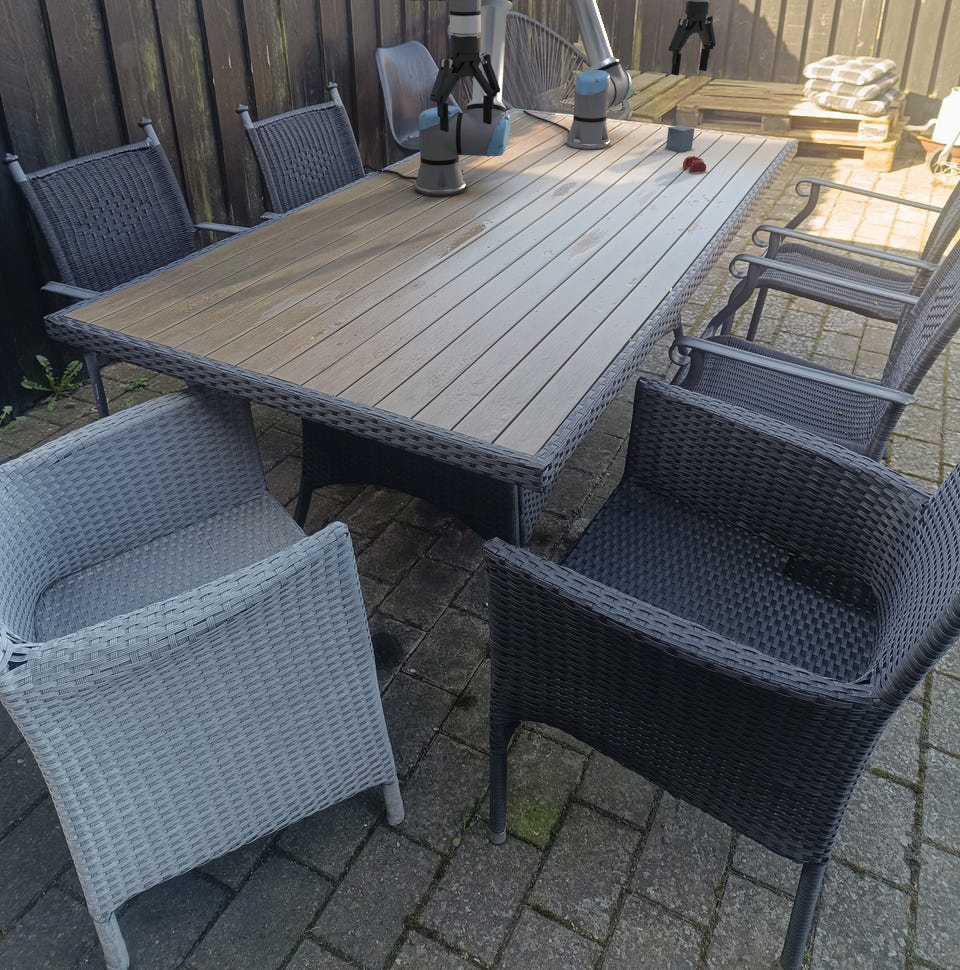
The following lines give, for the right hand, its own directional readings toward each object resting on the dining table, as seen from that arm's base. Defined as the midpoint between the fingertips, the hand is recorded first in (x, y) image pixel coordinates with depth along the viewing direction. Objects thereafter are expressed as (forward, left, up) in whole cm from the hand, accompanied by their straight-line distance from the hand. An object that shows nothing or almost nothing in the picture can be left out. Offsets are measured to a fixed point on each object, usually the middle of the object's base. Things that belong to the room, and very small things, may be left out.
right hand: (689, 72), depth 284 cm
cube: (0, 0, -25) cm, 25 cm away
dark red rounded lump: (+27, -1, -25) cm, 37 cm away
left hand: (+79, -77, +1) cm, 110 cm away
